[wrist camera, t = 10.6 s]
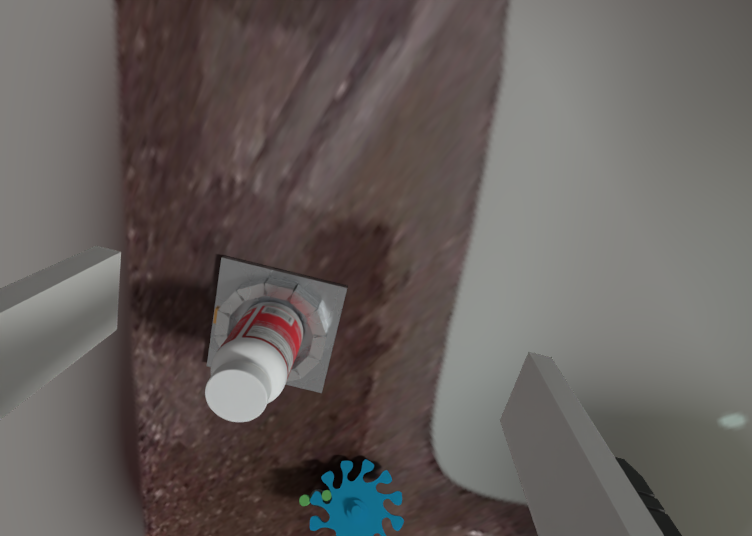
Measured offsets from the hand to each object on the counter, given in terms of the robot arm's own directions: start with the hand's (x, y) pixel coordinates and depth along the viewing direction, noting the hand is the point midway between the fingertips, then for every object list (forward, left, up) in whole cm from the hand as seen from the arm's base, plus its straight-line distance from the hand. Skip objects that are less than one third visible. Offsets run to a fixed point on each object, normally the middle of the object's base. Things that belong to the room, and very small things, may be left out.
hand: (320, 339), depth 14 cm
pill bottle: (+15, -6, -26) cm, 31 cm away
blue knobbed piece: (+32, +6, -27) cm, 42 cm away
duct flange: (+15, -6, -27) cm, 31 cm away
